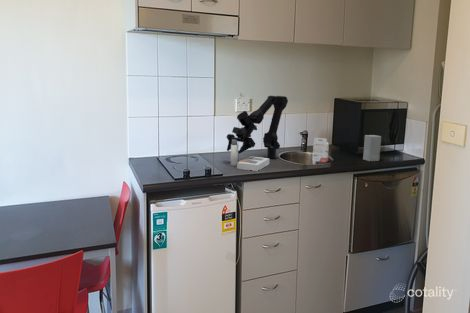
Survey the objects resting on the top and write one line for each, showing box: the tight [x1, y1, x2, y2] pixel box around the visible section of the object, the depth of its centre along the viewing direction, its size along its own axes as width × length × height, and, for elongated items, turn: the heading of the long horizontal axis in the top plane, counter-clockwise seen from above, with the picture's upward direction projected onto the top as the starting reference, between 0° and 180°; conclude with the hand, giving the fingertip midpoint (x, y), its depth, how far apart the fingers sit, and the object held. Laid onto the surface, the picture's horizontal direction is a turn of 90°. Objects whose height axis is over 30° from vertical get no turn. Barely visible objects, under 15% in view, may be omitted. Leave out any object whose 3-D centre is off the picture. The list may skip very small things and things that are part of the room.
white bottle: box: [230, 139, 239, 167], centre depth 244 cm, size 4×4×15 cm
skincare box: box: [362, 134, 382, 162], centre depth 268 cm, size 8×7×16 cm
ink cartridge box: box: [312, 137, 330, 163], centre depth 262 cm, size 9×5×15 cm, turn 62°
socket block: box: [236, 155, 271, 172], centre depth 244 cm, size 20×12×4 cm, turn 156°
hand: (233, 151), depth 244 cm, fingers open, 9 cm apart
